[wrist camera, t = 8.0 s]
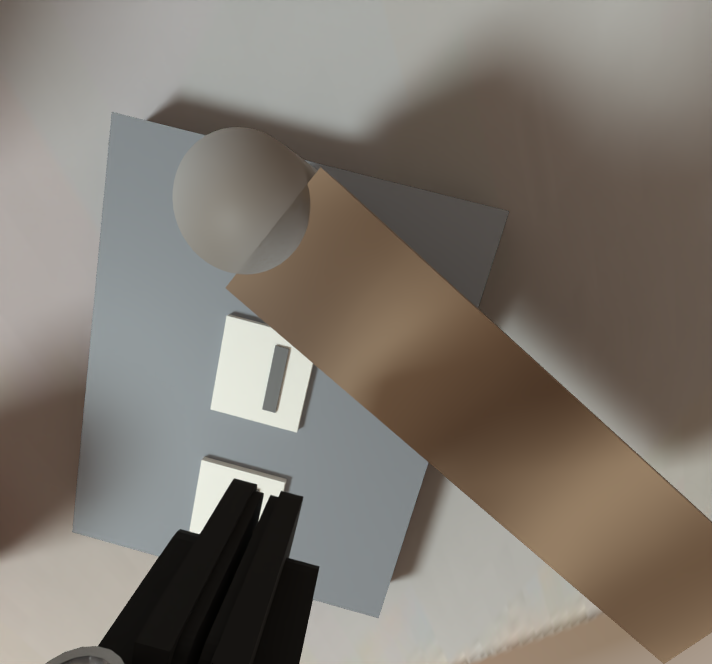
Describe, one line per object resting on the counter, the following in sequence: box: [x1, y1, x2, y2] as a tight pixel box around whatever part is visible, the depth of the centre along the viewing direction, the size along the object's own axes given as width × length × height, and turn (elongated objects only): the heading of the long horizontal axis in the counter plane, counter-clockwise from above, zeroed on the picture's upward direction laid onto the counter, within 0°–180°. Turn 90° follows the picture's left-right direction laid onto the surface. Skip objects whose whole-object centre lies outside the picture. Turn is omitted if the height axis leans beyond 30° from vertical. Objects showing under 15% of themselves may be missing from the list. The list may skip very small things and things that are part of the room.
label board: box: [72, 112, 509, 618], centre depth 19 cm, size 20×16×4 cm
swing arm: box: [172, 127, 712, 664], centre depth 14 cm, size 20×4×4 cm, turn 49°
